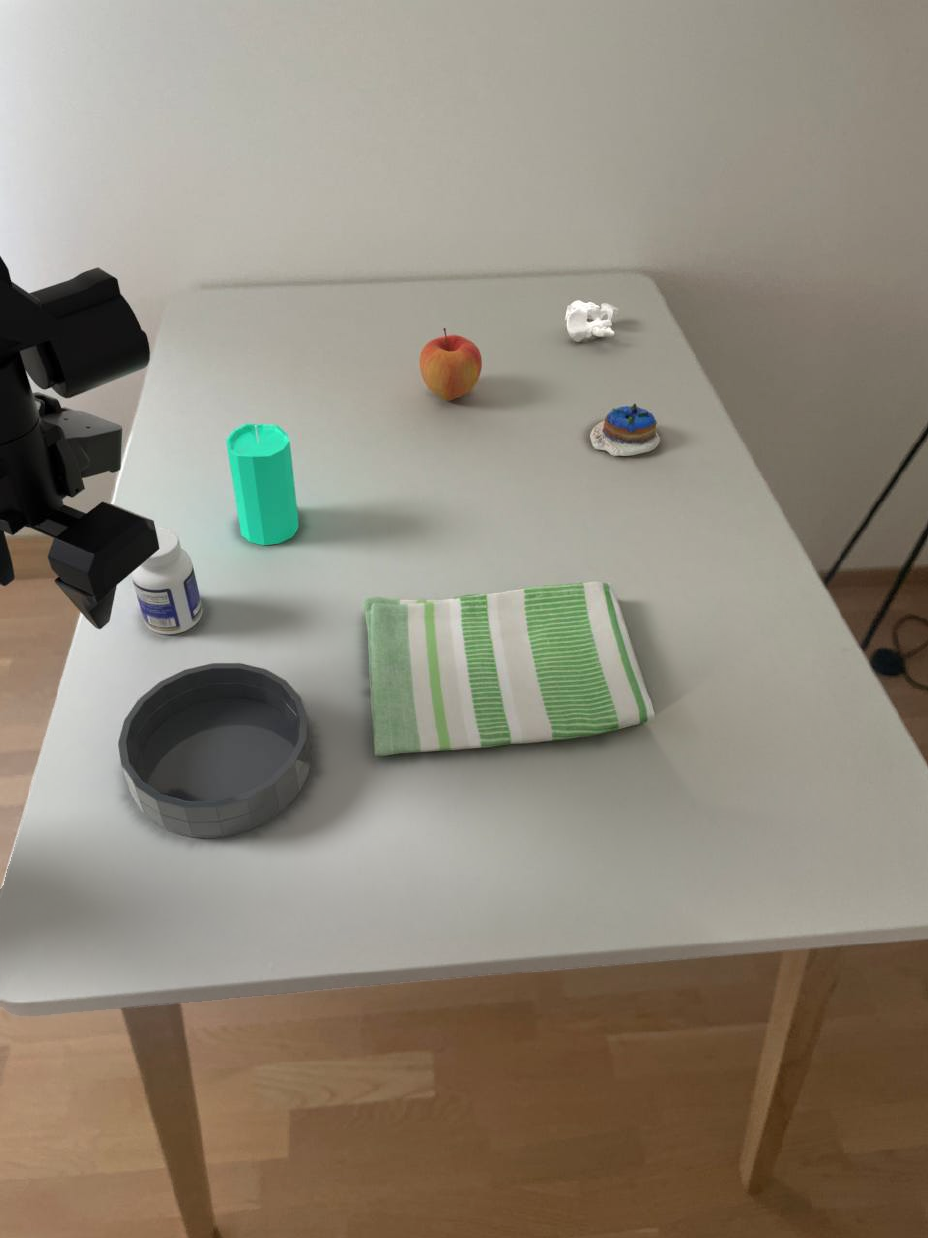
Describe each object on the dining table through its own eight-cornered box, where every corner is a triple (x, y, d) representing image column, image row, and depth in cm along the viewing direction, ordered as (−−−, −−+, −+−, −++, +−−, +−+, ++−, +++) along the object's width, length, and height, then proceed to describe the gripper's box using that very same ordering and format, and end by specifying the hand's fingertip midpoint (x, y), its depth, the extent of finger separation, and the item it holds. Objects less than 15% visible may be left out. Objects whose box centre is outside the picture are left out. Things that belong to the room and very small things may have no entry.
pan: (142, 861, 72) (131, 830, 69) (119, 718, 81) (109, 686, 78) (330, 808, 75) (327, 777, 73) (288, 678, 85) (284, 646, 82)
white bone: (616, 323, 125) (565, 313, 125) (609, 353, 128) (559, 342, 128) (622, 295, 130) (573, 284, 130) (614, 323, 133) (567, 313, 134)
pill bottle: (182, 588, 92) (165, 514, 86) (214, 616, 90) (199, 542, 84) (132, 614, 90) (111, 540, 83) (164, 645, 87) (144, 570, 81)
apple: (444, 417, 115) (446, 356, 109) (407, 390, 119) (407, 330, 113) (492, 398, 118) (496, 337, 112) (454, 372, 122) (456, 312, 116)
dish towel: (363, 609, 91) (362, 587, 89) (607, 593, 94) (611, 572, 92) (375, 762, 79) (374, 741, 77) (656, 739, 81) (662, 718, 79)
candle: (294, 546, 97) (283, 445, 89) (234, 544, 97) (217, 442, 89) (302, 508, 101) (292, 409, 93) (245, 506, 101) (229, 406, 93)
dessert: (660, 417, 115) (664, 397, 109) (657, 470, 114) (660, 453, 108) (592, 414, 116) (592, 393, 110) (588, 467, 115) (588, 449, 109)
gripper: (193, 403, 63) (225, 581, 74) (-19, 330, 69) (40, 505, 80) (69, 494, 56) (124, 676, 67) (-156, 403, 62) (-71, 585, 73)
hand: (54, 603), depth 72 cm, fingers open, 9 cm apart
